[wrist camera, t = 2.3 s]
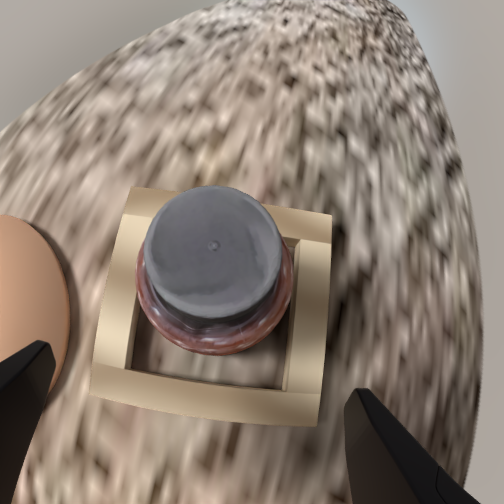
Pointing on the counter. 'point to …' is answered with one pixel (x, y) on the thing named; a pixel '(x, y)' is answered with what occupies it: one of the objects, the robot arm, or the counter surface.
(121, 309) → the birch collar
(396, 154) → the counter surface
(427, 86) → the counter surface
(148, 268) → the supplement bottle
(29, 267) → the terracotta pad
